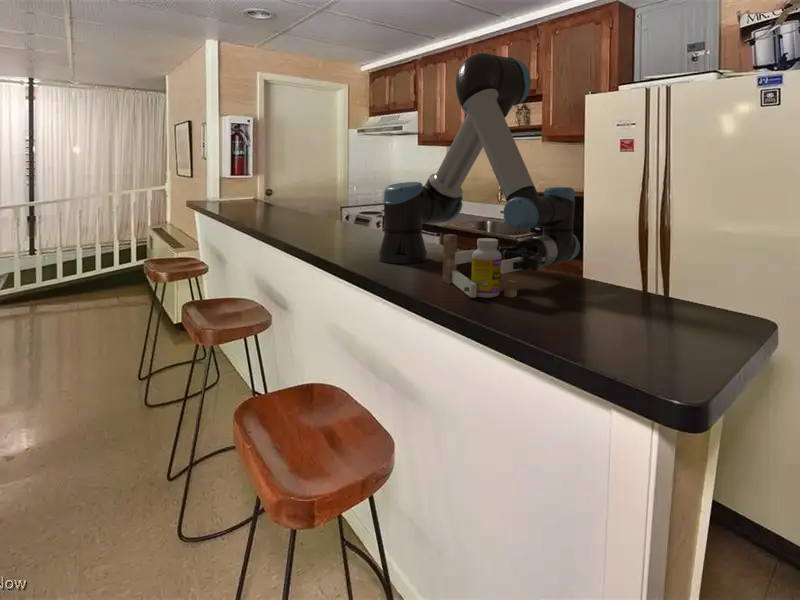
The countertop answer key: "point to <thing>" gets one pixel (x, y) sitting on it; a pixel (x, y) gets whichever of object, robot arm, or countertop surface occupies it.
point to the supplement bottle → (486, 268)
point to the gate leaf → (464, 283)
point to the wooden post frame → (450, 265)
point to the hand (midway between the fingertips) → (477, 262)
